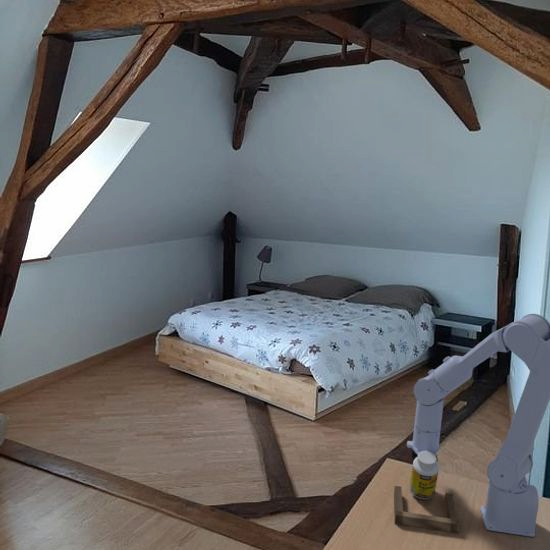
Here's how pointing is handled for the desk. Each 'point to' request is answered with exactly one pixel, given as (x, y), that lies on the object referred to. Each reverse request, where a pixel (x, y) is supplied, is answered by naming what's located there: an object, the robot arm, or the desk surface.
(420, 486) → the supplement bottle
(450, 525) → the wooden u-shaped block
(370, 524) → the desk surface
